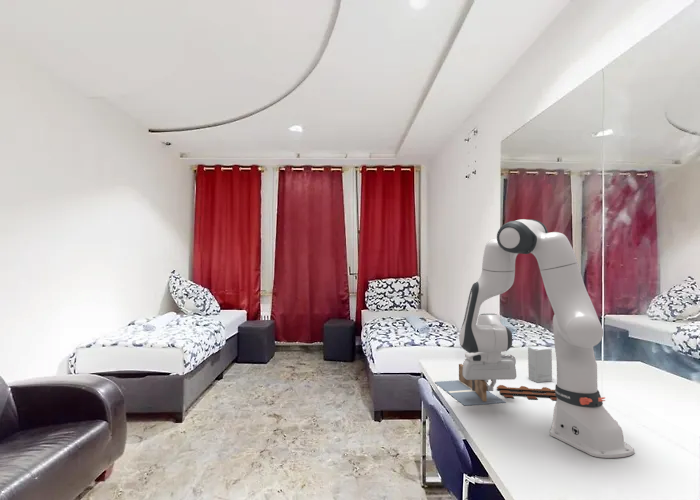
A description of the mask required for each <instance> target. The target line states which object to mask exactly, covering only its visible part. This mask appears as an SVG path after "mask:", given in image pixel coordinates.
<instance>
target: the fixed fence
mask: <svg viewBox="0 0 700 500" xmlns="http://www.w3.org/2000/svg"><path fill="white" fill-rule="evenodd" d="M462 372H463V364H462V363H459V364H458V380H460V381H462V382H463V383H465V384H466V385H468V386H469V387H471V388H472V390H473V391H475V380H466V379H465V378H464V377H463V373H462Z"/></svg>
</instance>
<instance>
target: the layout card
mask: <svg viewBox="0 0 700 500" xmlns="http://www.w3.org/2000/svg"><path fill="white" fill-rule="evenodd" d="M434 384H435V385H437V386H438V387H439V388H441V389H442V390H443V391H445V392H446V393H447V394H448V395H449V396H451V397H452V398H454V399H455V400H456V401H458V402H459V403H460V404H461V405H463V406H464V407H465V406H467V407H468V406H479V405H481V406H482V405H492V404H506V403H507V402H506V401H505V400H504V399H502V398H500V397H499V396H497V395H495V394H494V393H492V391H486V393H487V401H483V400H482V399H481V398H480V397H479V395H478V394H477V393H476V392H475V391H473V390H472V388H471V387H469V386H468V385H466V384H465V383H463V382H462V381H460V380H459V379H457V380H441V381H434Z"/></svg>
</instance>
